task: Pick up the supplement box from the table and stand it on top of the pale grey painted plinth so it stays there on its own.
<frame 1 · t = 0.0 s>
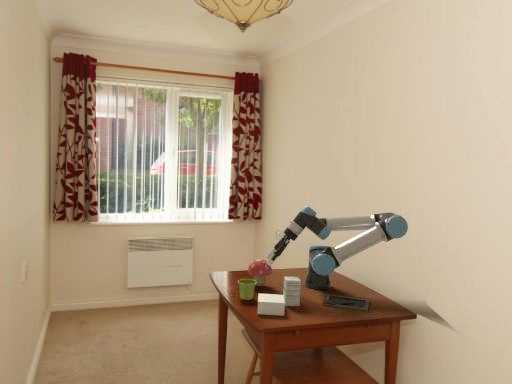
hand: (268, 261, 227), 15 cm above the table, tool tilted 35°, fingers open, 13 cm apart
picture frame: (346, 305, 211), on the table
supplement box: (290, 304, 207), on the table
decorative mushroom: (259, 286, 233), on the table
plant pot: (246, 298, 211), on the table
plinth: (270, 310, 196), on the table
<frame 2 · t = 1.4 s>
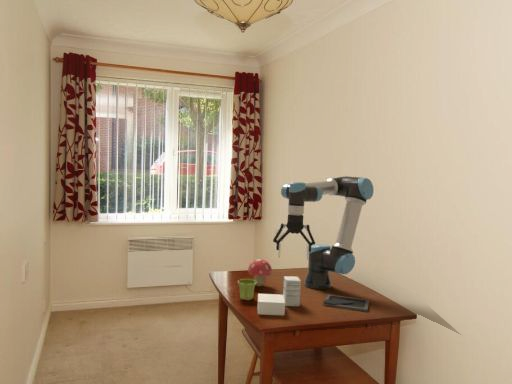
hand: (293, 257, 205), 23 cm above the table, tool pointing down, fingers open, 13 cm apart
nothing on the table moved.
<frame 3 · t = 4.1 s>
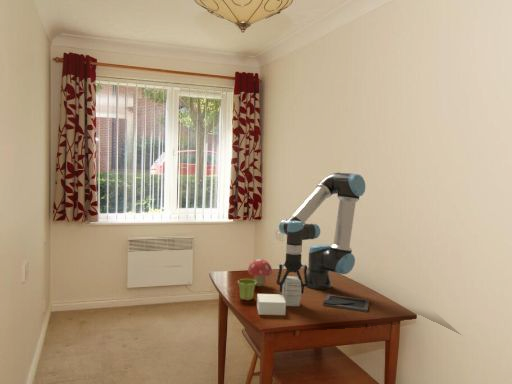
hand: (291, 299, 207), 2 cm above the table, tool pointing down, fingers closed on supplement box, 8 cm apart
supplement box: (290, 304, 207), on the table, touching gripper
everything else where it was.
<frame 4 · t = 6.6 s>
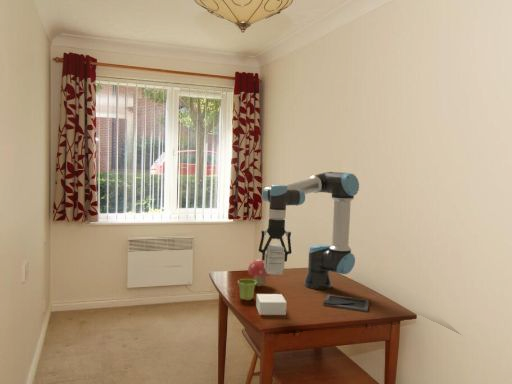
hand: (273, 267, 195), 20 cm above the table, tool pointing down, fingers closed on supplement box, 8 cm apart
supplement box: (273, 272, 195), point 17 cm above the table, touching gripper
everything else where it was.
when the fingers open (9 cm above the table, at t = 9.4 s): supplement box drops 1 cm, resting on plinth.
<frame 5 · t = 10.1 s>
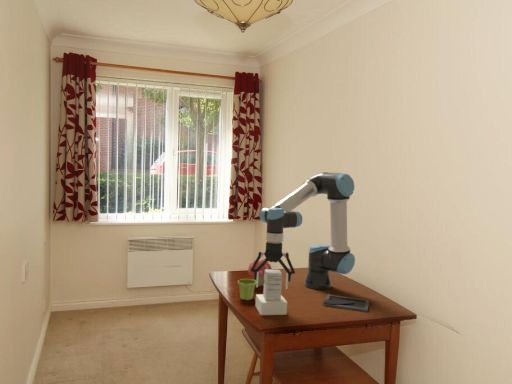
hand: (271, 287, 195), 11 cm above the table, tool pointing down, fingers open, 13 cm apart
supplement box: (271, 298, 196), point 5 cm above the table, touching plinth
plinth: (270, 311, 196), on the table, touching supplement box
everything else where it was.
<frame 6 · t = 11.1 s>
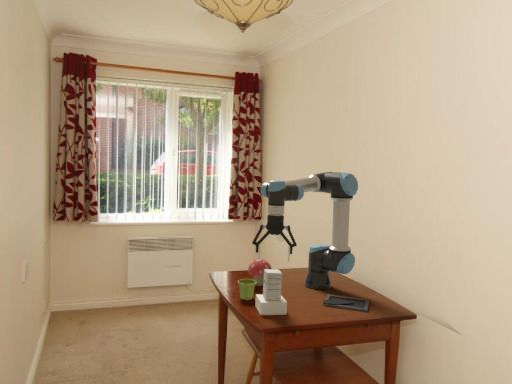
hand: (273, 260, 195), 23 cm above the table, tool pointing down, fingers open, 13 cm apart
supplement box: (271, 298, 196), point 5 cm above the table
plinth: (270, 310, 196), on the table
everything else where it was.
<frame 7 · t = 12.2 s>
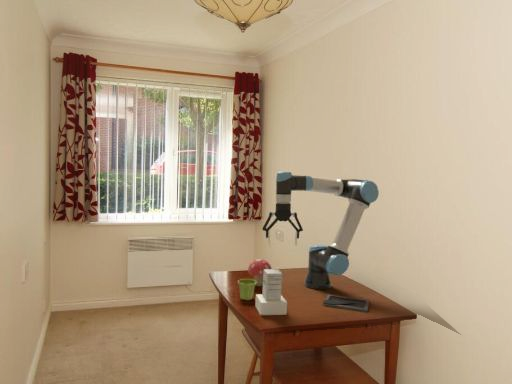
hand: (282, 244, 214), 27 cm above the table, tool pointing down, fingers open, 13 cm apart
nothing on the table moved.
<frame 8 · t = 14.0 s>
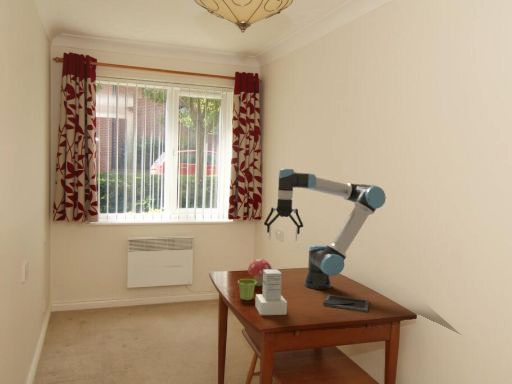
hand: (282, 239, 219), 29 cm above the table, tool pointing down, fingers open, 13 cm apart
supplement box: (271, 298, 196), point 5 cm above the table, touching plinth
plinth: (270, 310, 196), on the table, touching supplement box
everything else where it was.
at the end: supplement box inside the target area on the plinth (0.1 cm from its centre), point 5.9 cm above the plinth's base; supplement box tilted 1°; the gripper is holding nothing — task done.
